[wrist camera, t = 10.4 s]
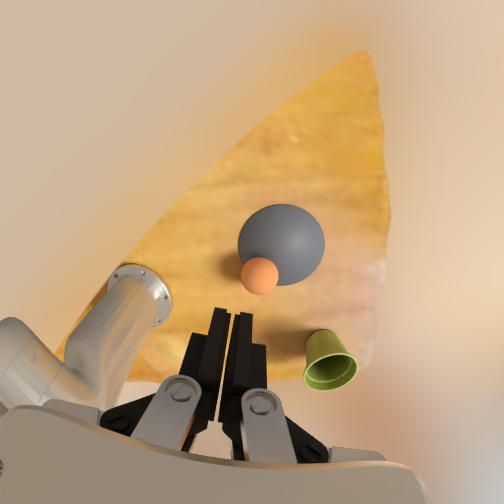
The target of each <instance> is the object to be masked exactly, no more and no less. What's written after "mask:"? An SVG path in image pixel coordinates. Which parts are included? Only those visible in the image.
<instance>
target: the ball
mask: <svg viewBox="0 0 504 504" xmlns="http://www.w3.org/2000/svg"><path fill="white" fill-rule="evenodd" d="M241 281H242V284H243V286H244V287H245V288H246V290H248V291H249V292H251V293H253V294H256V295H263V294H267V293H269V292H270V291H272V290H273V289H274V288H275V286H276V284H277V282H278V270H277V268H276V266H275V264H274V263H273V262H272V261H270V260H269V259H266V258H263V257H256V258H253V259H251V260H249V261H248V262H247V263H246V264H245V265H244V266H243V268H242V271H241Z"/></svg>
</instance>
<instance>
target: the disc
mask: <svg viewBox="0 0 504 504" xmlns="http://www.w3.org/2000/svg"><path fill="white" fill-rule="evenodd" d="M324 246H325V242H324V235H323V232H322V229H321V227H320V225H319V223H318V222H317V221H316V219H315V218H314V217H313V216H312V215H311V214H310V213H308V212H307V211H305V210H303V209H301V208H299V207H296V206H293V205H285V204H281V205H273V206H269V207H266V208H264V209H262V210H260V211H259V212H257V213H256V214H255V215H253V216H252V217H251V218H250V219H249V220H248V222H247V223H246V225H245V226H244V228H243V230H242V233H241V236H240V241H239V252H240V257H241V260H242V262H243V264H244V265H245V264H246V263H247V262H248V261H249V260H251V259H253V258H256V257H263V258H266V259H269V260H270V261H272V262H273V263H274V264H275V266H276V268H277V270H278V282H277V284H276V285H278V286H283V285H291V284H294V283H297V282H299V281H302V280H303V279H305V278H307V277H308V276H309V275H310V274H311V273H312V272H314V270H315V269H316V268H317V267H318V265H319V263H320V261H321V259H322V256H323V253H324Z"/></svg>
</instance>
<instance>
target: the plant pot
mask: <svg viewBox="0 0 504 504" xmlns="http://www.w3.org/2000/svg"><path fill="white" fill-rule="evenodd" d="M357 372H358V362H357V360H356V358H355V357H354V356H352V355H351V354H349V353H348V352H347V351H346V349H345V347H344V346H343V344H342V343H341V341H340V340H339V338H338V336H337V335H336V334H335V333H334V332H332V331H331V330H320V331H317V332H315V333H314V334H313V335H312V336H311V337H309V338H308V339H307V342H306V368H305V371H304V374H303V381H304V383H305V385H306V386H307V387H308V388H310V389H312V390H315V391H321V392H326V391H332V390H336V389H339V388H341V387H343V386H345V385H346V384H348V383H349V382H350V381H351V380H352V379H353V378H354V377H355V375H356V374H357Z"/></svg>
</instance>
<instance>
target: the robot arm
mask: <svg viewBox="0 0 504 504" xmlns="http://www.w3.org/2000/svg"><path fill="white" fill-rule="evenodd" d="M171 310H172V296H171V293H170V290H169V288H168V286H167V285H166V283H165V282H164V281H163V279H162V278H161V277H160V276H159V275H158V274H157V273H155V272H154V271H152V270H151V269H149V268H147V267H145V266H141V265H137V264H128V265H124V266H121V267H119V268H118V269H116V270H115V271H114V272H113V273H112V275H111V276H110V278H109V281H108V285H107V293H106V294H105V295H104V296H103V297H102V298H101V299H100V300H99V302H98V303H97V304H96V305H95V306H94V307H93V308H92V309H91V311H90V312H89V313H88V314H87V315H86V316H85V317H84V319H83V320H82V321H81V322H80V323H79V324H78V326H77V327H76V328H75V329H74V330H73V332H72V333H71V334H70V336H69V338H68V340H67V342H66V346H65V352H64V363H62V362H61V361H60V360H59V359H58V358H57V357H56V356H55V355H54V354H53V353H52V352H51V351H50V350H49V349H48V348H47V347H46V346H45V344H44V343H43V342H42V341H41V340H40V339H39V338H38V337H37V336H36V335H35V334H34V333H33V332H32V330H31V329H30V328H29V327H28V326H27V325H26V324H25V323H24V322H22V321H21V320H19V319H17V318H14V317H8V318H5V319H3V320H1V321H0V504H431V502H430V499H429V496H428V493H427V491H426V488H425V486H424V484H423V482H422V480H421V478H420V476H419V475H418V474H417V472H415V470H413V469H412V468H410V467H408V466H405V465H403V464H399V463H394V462H387V461H386V460H385V458H384V457H383V455H382V454H380V453H379V452H376V451H367V450H358V449H350V448H342V447H335V446H332V447H331V448H327V447H325V446H324V445H323V444H322V443H321V442H319V441H318V440H317V439H315V438H314V437H313V436H311V435H310V434H309V433H307V432H306V431H305V430H303V429H302V428H301V427H299V426H298V425H297V424H295V423H294V422H293V421H292V420H290V419H289V418H288V417H287V416H285V415H284V411H283V407H282V403H281V401H280V399H279V397H278V396H277V395H276V394H275V393H273V392H271V391H269V390H267V368H266V346H265V345H261V344H254V343H252V322H253V314H250V313H244V312H240V315H237V314H235V317H234V323H233V328H232V333H231V338H230V343H229V349H228V354H227V359H226V366H225V373H224V380H223V387H222V394H221V402H220V409H219V416H218V422H221V423H223V425H222V430H223V432H224V433H225V434H226V435H227V436H228V437H229V438H230V452H231V460H230V459H222V458H215V457H209V456H203V455H198V454H192V453H191V450H192V448H193V445H194V443H195V440H196V438H197V434H198V433H200V432H201V431H203V430H205V429H207V425H208V420H209V421H214V416H215V410H216V404H217V399H218V394H219V388H220V383H221V377H222V371H223V364H224V357H225V351H226V344H227V338H228V331H229V325H230V318H231V313H227V309H222V308H216V307H215V309H214V313H213V316H212V320H211V324H210V328H209V332H208V335H203V334H198V333H192V335H191V337H190V341H189V344H188V347H187V350H186V353H185V356H184V359H183V362H182V365H181V368H180V372H179V375H174V376H170V377H168V378H166V379H165V380H164V381H163V382H162V384H161V386H160V387H159V389H158V391H157V392H156V393H154V394H151V395H149V396H146V397H143V398H141V399H138V400H135V401H132V402H129V403H127V404H123V405H121V406H117V407H116V405H117V401H118V398H119V395H120V393H121V389H122V388H123V386H124V383H125V381H126V379H127V377H128V375H129V373H130V371H131V369H132V367H133V365H134V363H135V361H136V359H137V357H138V355H139V353H140V351H141V349H142V347H143V345H144V343H145V341H146V339H147V338H148V336H149V334H150V332H151V330H152V328H153V327H157V326H159V325H161V324H163V323H164V322H165V321H166V320H167V318H168V317H169V315H170V313H171Z"/></svg>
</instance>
